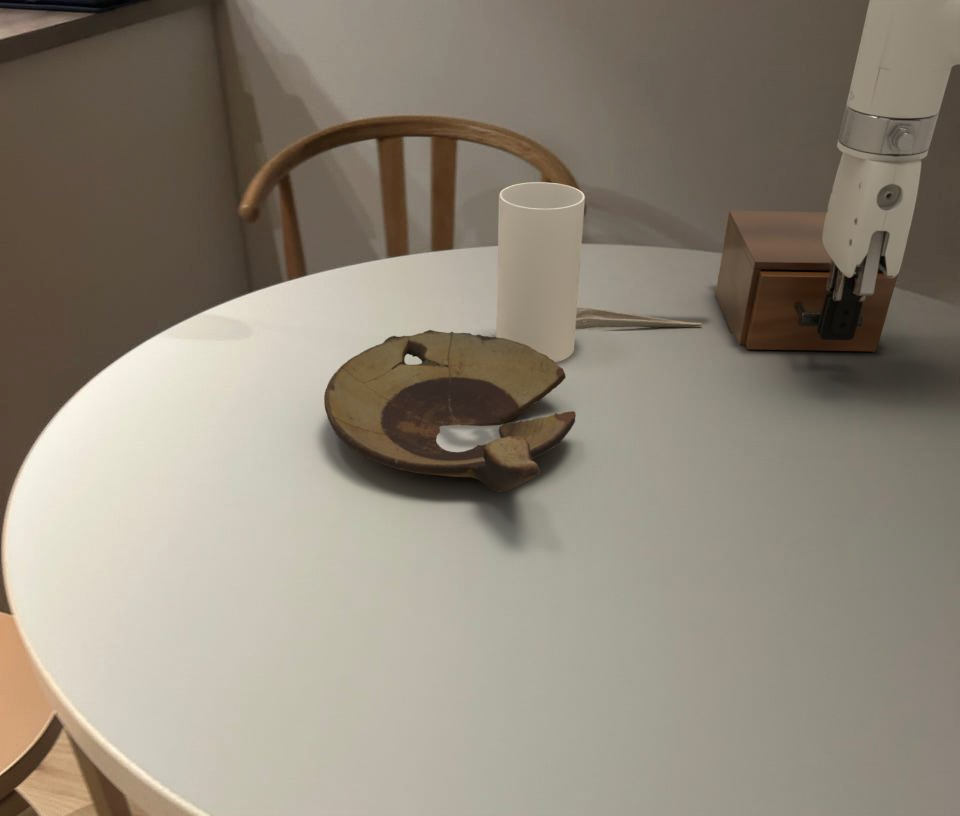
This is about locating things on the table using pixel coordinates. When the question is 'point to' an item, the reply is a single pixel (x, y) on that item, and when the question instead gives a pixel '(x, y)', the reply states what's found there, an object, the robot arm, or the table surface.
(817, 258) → the cabinet
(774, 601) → the table surface
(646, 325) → the tweezers
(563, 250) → the cup
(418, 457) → the broken ceramic dish
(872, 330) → the drawer
